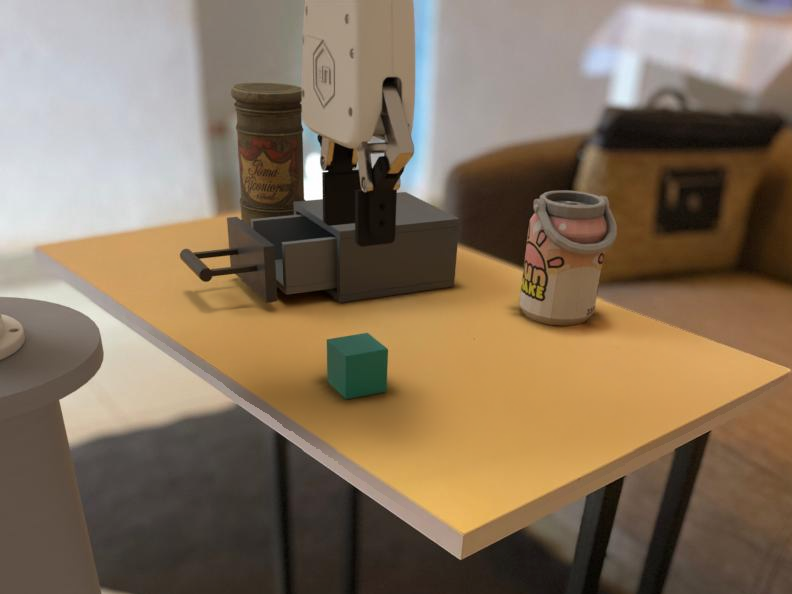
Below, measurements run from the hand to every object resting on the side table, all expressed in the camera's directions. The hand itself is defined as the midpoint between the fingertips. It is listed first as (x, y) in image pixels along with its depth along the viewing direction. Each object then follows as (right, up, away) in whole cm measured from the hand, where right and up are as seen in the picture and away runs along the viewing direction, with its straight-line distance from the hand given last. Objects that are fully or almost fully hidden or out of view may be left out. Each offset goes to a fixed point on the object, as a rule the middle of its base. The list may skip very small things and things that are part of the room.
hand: (358, 230), depth 66 cm
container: (-13, +13, +40) cm, 44 cm away
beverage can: (+20, 0, +24) cm, 32 cm away
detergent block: (-1, -11, +8) cm, 13 cm away
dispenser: (0, +6, +32) cm, 33 cm away
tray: (-10, +4, +27) cm, 29 cm away
